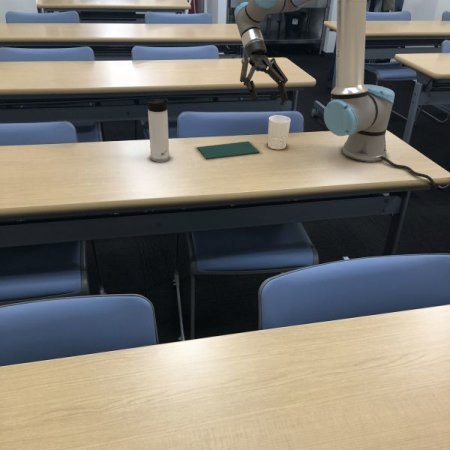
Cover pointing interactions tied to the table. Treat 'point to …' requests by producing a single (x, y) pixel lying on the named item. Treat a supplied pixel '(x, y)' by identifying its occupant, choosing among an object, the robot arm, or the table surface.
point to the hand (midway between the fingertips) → (270, 100)
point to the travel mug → (158, 129)
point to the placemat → (227, 150)
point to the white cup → (278, 131)
